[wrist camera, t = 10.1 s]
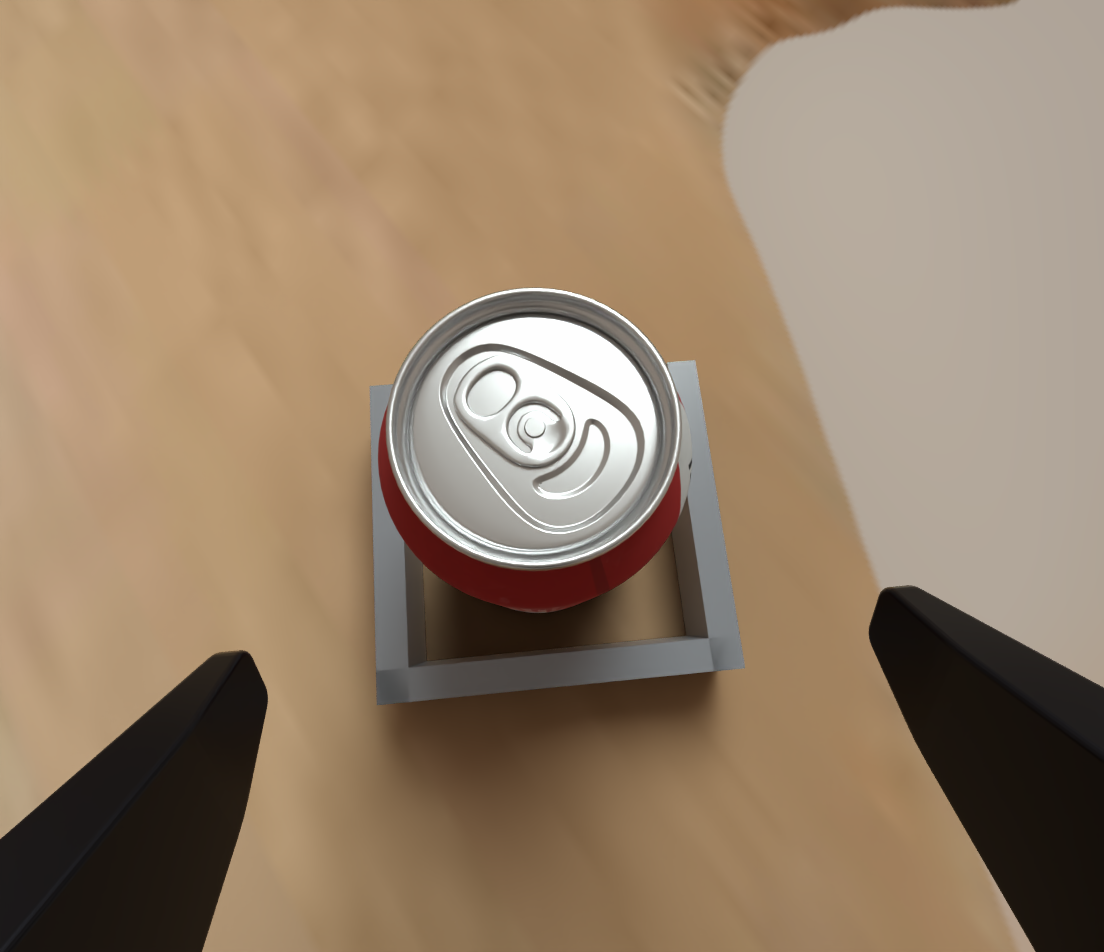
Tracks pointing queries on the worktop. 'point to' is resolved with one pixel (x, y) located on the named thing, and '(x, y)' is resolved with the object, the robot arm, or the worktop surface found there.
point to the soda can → (534, 449)
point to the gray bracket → (699, 651)
